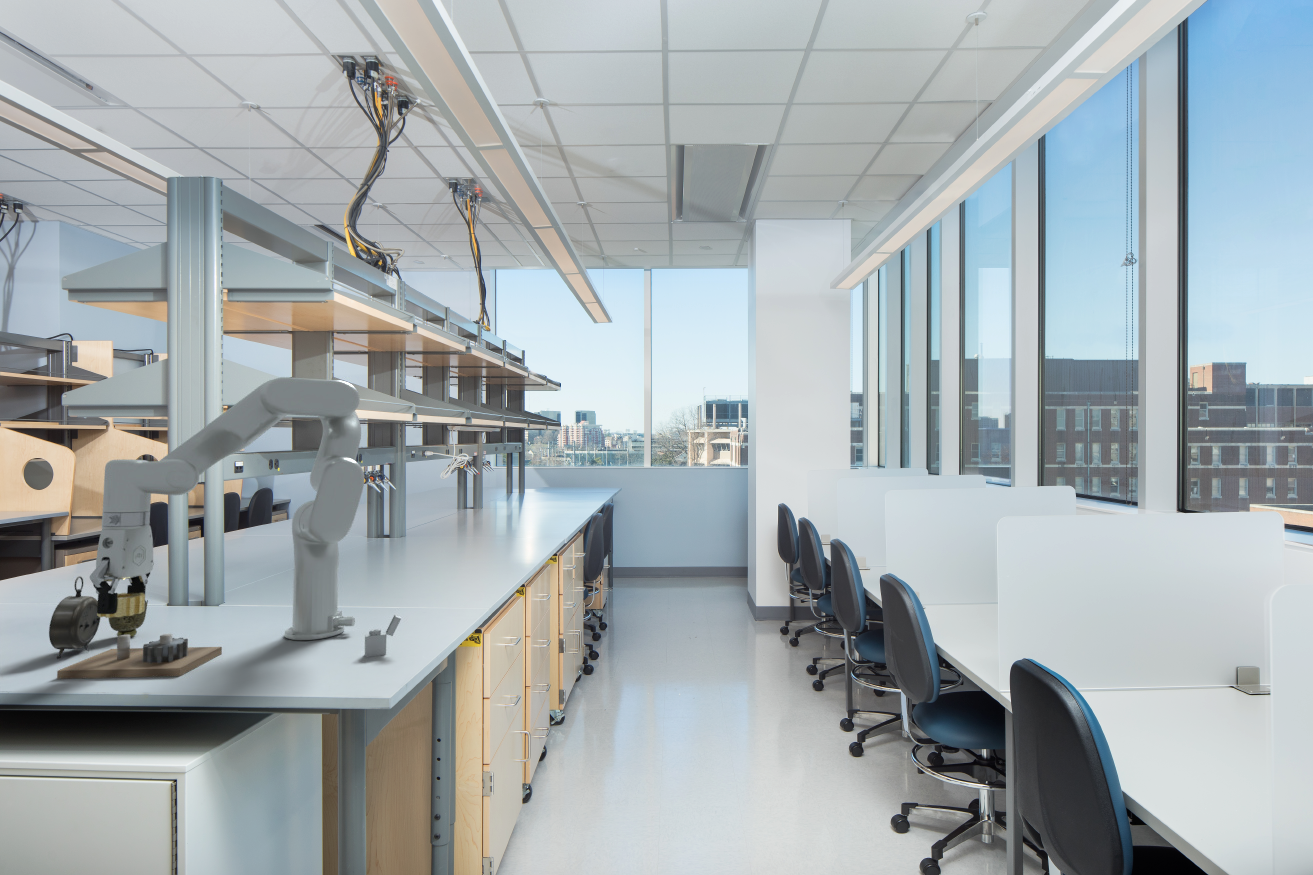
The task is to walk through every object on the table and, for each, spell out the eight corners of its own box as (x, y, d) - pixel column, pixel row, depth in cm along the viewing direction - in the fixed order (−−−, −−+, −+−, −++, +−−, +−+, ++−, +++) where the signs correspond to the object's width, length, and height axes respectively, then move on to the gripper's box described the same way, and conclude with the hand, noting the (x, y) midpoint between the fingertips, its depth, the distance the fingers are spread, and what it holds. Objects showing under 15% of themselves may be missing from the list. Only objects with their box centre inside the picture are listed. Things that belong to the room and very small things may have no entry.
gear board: (221, 653, 140) (222, 625, 140) (180, 675, 126) (180, 644, 127) (111, 655, 138) (112, 627, 138) (57, 678, 124) (58, 646, 125)
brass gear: (152, 609, 136) (153, 592, 136) (127, 617, 129) (128, 599, 129) (114, 609, 135) (115, 592, 135) (87, 617, 128) (88, 599, 128)
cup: (123, 642, 148) (124, 606, 148) (97, 640, 150) (98, 604, 150) (155, 633, 156) (156, 599, 156) (129, 631, 157) (130, 597, 157)
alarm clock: (76, 646, 145) (78, 572, 145) (105, 644, 147) (107, 571, 147) (45, 661, 135) (48, 581, 135) (77, 659, 136) (79, 580, 136)
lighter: (365, 657, 139) (365, 619, 139) (364, 654, 140) (365, 617, 141) (400, 652, 142) (401, 615, 142) (399, 650, 144) (400, 613, 144)
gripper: (114, 525, 124) (109, 619, 124) (173, 517, 142) (169, 599, 141) (72, 524, 124) (66, 619, 123) (136, 516, 141) (132, 599, 140)
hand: (121, 608), depth 132 cm, fingers closed on brass gear, 7 cm apart
